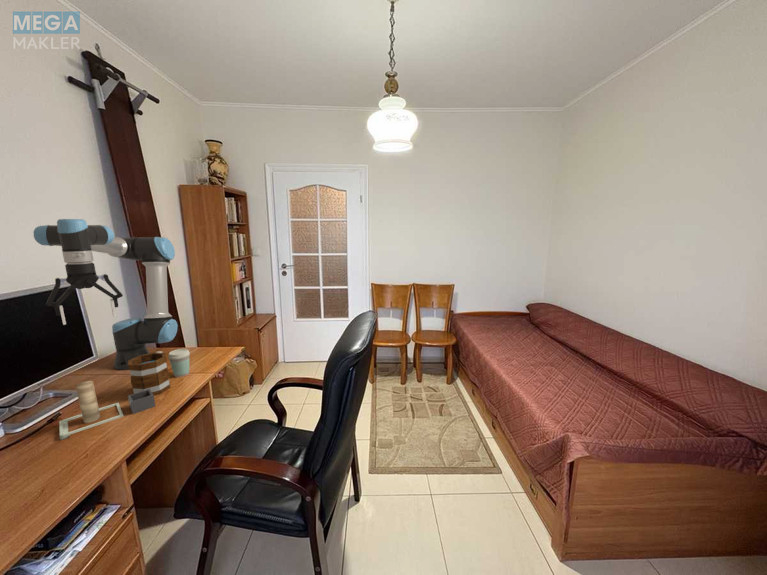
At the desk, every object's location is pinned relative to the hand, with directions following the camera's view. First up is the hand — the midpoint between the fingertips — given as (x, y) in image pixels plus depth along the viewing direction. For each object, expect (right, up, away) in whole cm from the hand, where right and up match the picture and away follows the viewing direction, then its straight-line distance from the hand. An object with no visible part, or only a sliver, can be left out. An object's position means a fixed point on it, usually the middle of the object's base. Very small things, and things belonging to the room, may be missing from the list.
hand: (90, 319), depth 114 cm
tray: (+4, -36, -4) cm, 37 cm away
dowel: (+5, -35, -4) cm, 36 cm away
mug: (+10, -32, +19) cm, 38 cm away
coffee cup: (+14, -30, +30) cm, 45 cm away
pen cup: (+17, -34, +4) cm, 38 cm away
